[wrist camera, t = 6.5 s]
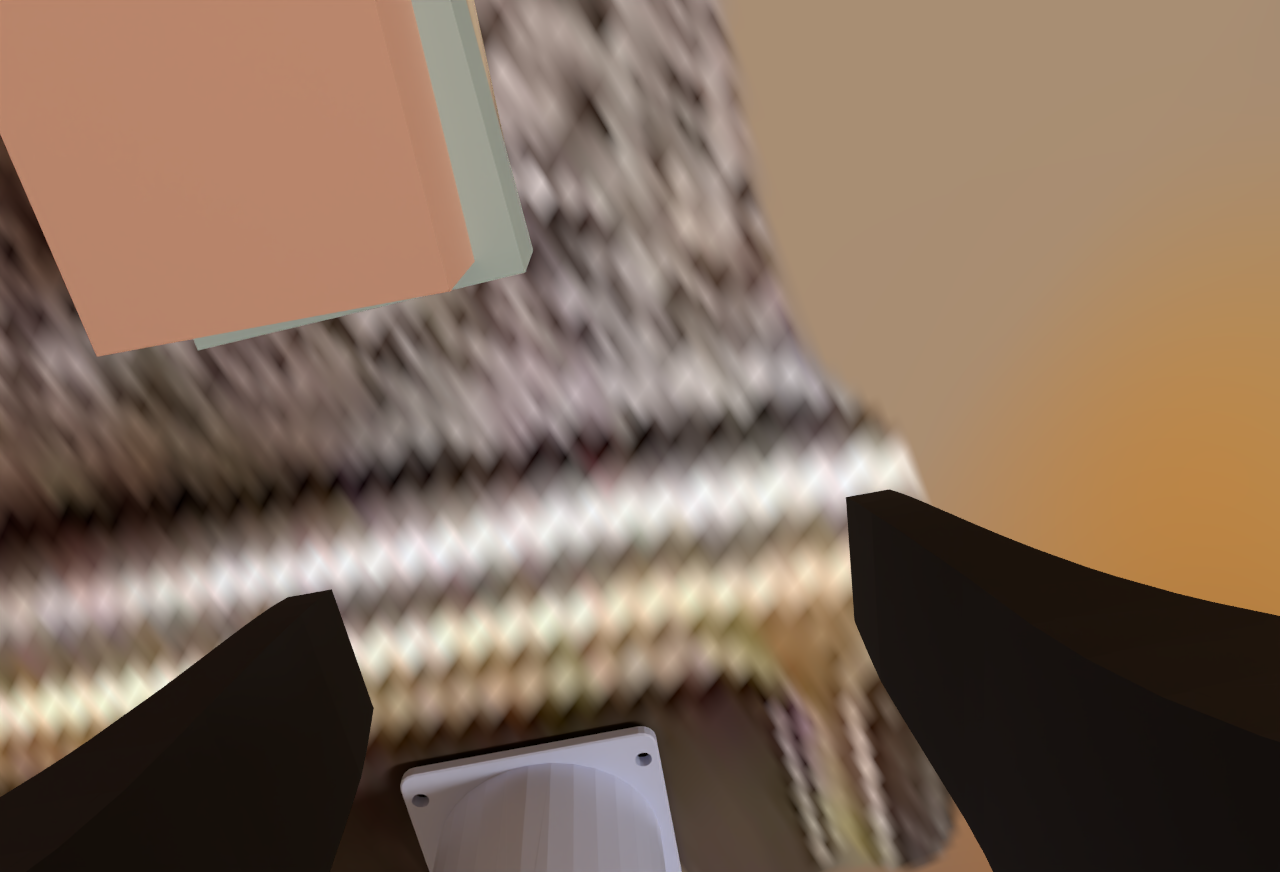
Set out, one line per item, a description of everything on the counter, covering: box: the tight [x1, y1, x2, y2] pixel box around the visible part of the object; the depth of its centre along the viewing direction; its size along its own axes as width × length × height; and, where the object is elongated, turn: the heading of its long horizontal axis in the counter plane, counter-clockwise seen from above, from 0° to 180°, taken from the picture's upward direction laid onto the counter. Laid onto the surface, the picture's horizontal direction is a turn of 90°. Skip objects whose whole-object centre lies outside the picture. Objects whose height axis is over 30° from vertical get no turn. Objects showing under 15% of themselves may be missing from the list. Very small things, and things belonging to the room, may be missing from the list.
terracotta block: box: [0, 0, 475, 357], centre depth 12 cm, size 5×5×3 cm
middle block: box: [193, 0, 533, 350], centre depth 14 cm, size 6×6×3 cm
